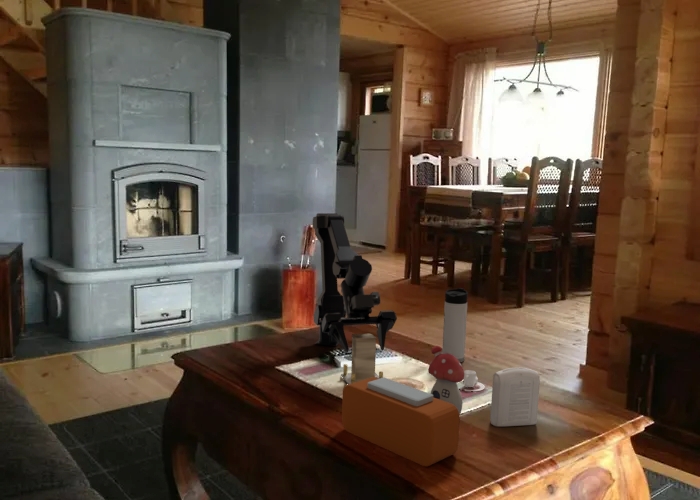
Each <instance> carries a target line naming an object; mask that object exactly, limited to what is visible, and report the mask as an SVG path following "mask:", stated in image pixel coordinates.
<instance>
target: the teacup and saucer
mask: <svg viewBox="0 0 700 500" xmlns="http://www.w3.org/2000/svg"><path fill="white" fill-rule="evenodd" d="M463 380H464V382H463V384H464V387H465V386H466V388H468V387H472V388H474V387H475V385H478V386H479V388H478V389H465V391H464V392H471V391H473V393H474V392H480V391H483V390H484V389H485V388H486V386H485V385H484V384H483V383H481V382H480V381H479V378H478V376H477V372H476V371H475V370H471V369H466V370H464V379H463Z"/></svg>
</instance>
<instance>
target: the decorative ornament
mask: <svg viewBox="0 0 700 500" xmlns="http://www.w3.org/2000/svg"><path fill="white" fill-rule="evenodd" d="M442 349H443V347H441V346H439V345H436V346H433V347H432V348H431V352H430V353H431V354H433V355H434V358H433V360H432V361H431V362H430V363H429V366H428V374H429V375H430V376H433V377H434V378H435V382H434V384H433V386H432V388H431V390H430V394H433V397H434V398H437V399H440V400H442V401H445V402H448V403H451V404H453V405H455V406H456V408H457V409H458V411H459V415H461V413H462V410H463V404H464V403H463V397H462V394H461V393H462V392H461V390H459V388H460V387H459V386H458V384H457V383H458V382H461V381H462V380H463V379H464V371H465V370H464V368H463V365H462V364H461V363H462V362H459V361H458V359H457V358H456V357H454V356H453V355H451V354H448V353H444V354H443V353H442ZM458 387H459V388H458Z"/></svg>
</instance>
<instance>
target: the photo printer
mask: <svg viewBox="0 0 700 500" xmlns="http://www.w3.org/2000/svg"><path fill="white" fill-rule="evenodd" d="M540 385H541V378H540V375H539V372H538V371H536V370H534V369H531V368H526V367H519V366H518V367H508V368H504V369H501V370H499V371H496V372H494V374H493V376H492V388H491V401H490V404H491V405H490V416H489V417H490V424H491V425H493V426H494V427H514V426H515V427H516V426H518V427H519V426H533V425H537V422H538V421H537V420H538V411H539V410H538V409H539V395H540V387H541V386H540Z"/></svg>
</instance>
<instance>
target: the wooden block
mask: <svg viewBox="0 0 700 500" xmlns="http://www.w3.org/2000/svg"><path fill="white" fill-rule="evenodd" d="M351 338H352V339H351V366H350V367H351V371H350V373H351V374H352V373H355V382H358V381H362V380H365V379H368V378H371V377H375V373H376V353H377V349H376V348H377V340H378V337H377V336H375V335H374V334H373V333H369V332H368V333H355V334H353V333H352V334H351Z"/></svg>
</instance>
